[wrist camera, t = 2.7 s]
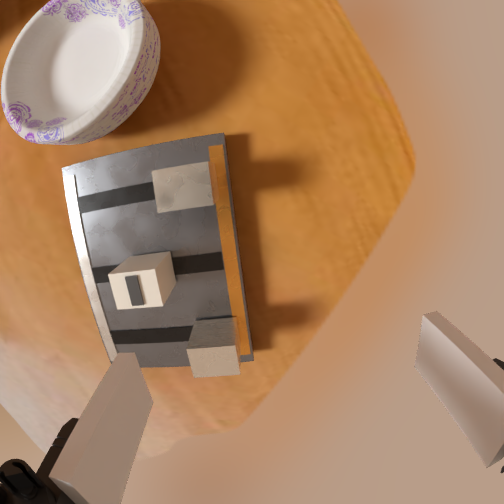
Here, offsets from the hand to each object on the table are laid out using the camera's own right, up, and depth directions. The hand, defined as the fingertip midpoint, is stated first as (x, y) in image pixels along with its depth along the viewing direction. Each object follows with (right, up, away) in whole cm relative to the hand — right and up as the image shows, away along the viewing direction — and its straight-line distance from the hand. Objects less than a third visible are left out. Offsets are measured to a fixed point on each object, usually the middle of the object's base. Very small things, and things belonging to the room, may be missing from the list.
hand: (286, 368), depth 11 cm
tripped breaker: (-10, +3, +16) cm, 19 cm away
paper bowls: (-17, +22, +13) cm, 31 cm away
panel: (-10, +4, +18) cm, 21 cm away
